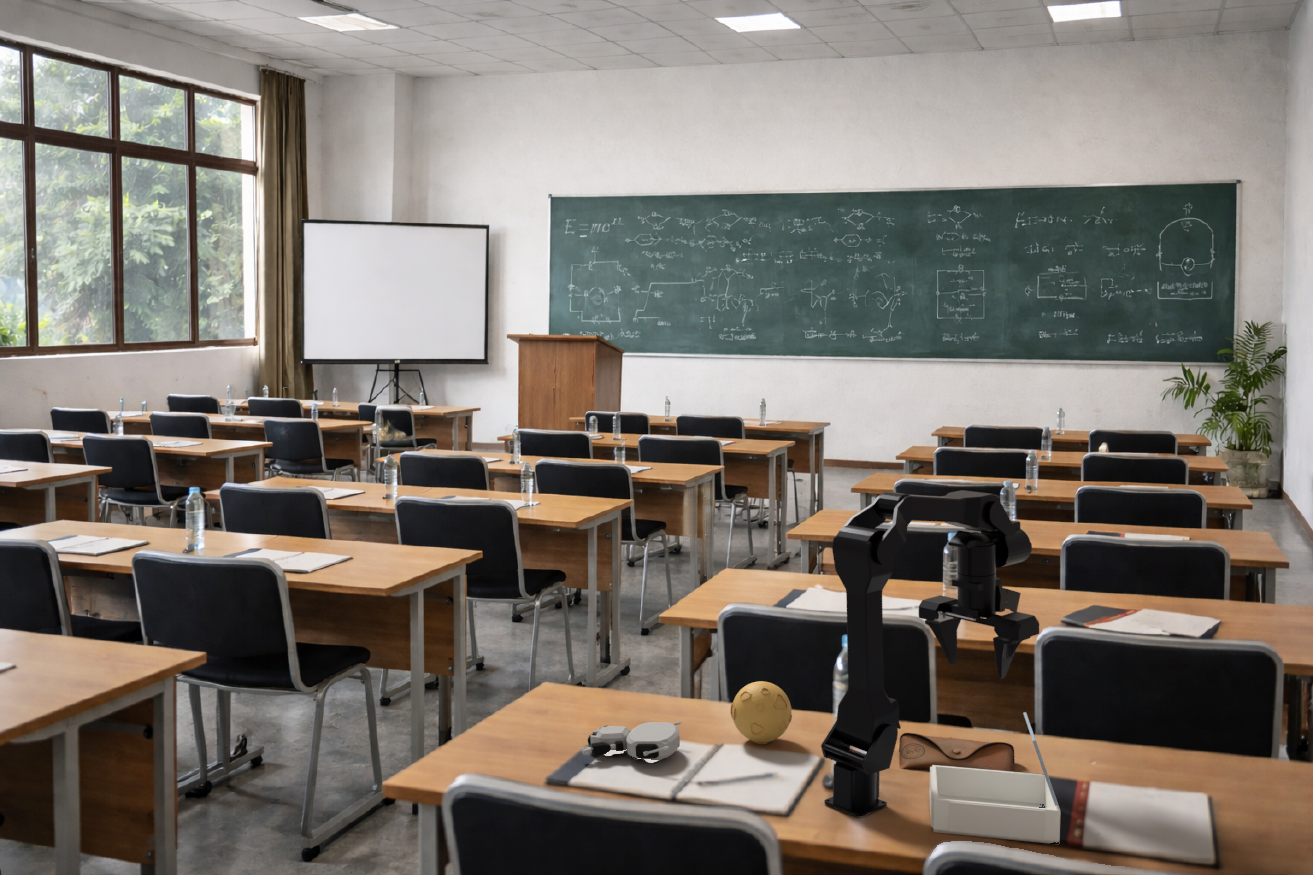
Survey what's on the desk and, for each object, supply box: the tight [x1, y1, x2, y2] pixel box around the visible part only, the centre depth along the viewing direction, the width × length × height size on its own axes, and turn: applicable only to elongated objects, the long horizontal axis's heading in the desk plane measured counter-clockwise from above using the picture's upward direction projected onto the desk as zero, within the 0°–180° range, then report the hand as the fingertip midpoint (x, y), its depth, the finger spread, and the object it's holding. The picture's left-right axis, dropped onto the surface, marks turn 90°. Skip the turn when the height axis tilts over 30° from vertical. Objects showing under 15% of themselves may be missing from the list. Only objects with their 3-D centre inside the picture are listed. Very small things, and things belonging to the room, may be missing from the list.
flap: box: [1022, 711, 1059, 806], centre depth 150 cm, size 1×12×9 cm, turn 167°
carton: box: [928, 765, 1061, 844], centre depth 152 cm, size 16×14×4 cm
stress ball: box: [730, 680, 793, 745], centre depth 182 cm, size 10×10×10 cm
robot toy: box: [581, 721, 683, 761], centre depth 176 cm, size 12×4×15 cm
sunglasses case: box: [898, 732, 1015, 772], centre depth 172 cm, size 18×7×7 cm, turn 75°
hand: (977, 670), depth 171 cm, fingers open, 9 cm apart
